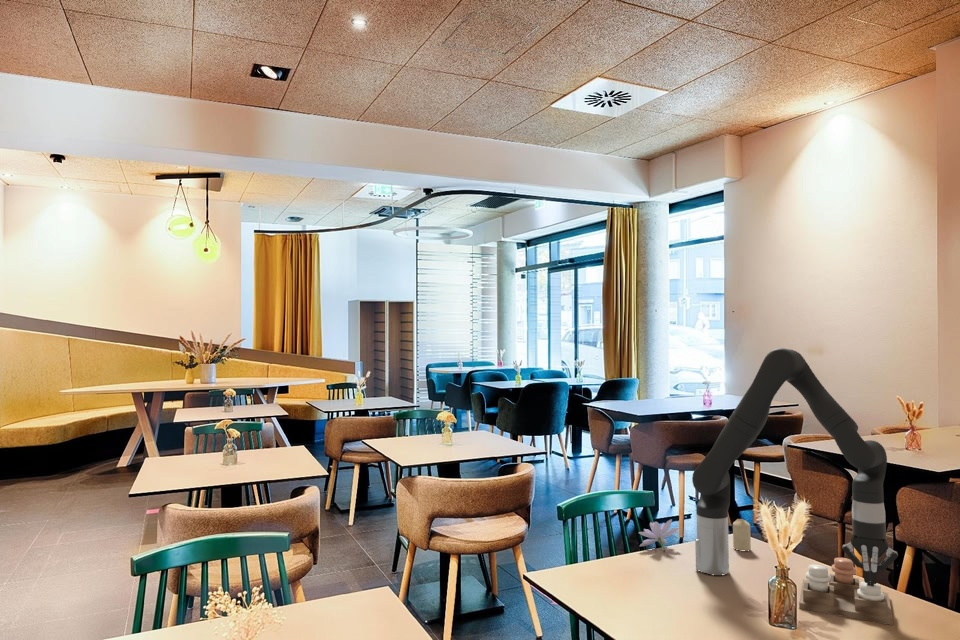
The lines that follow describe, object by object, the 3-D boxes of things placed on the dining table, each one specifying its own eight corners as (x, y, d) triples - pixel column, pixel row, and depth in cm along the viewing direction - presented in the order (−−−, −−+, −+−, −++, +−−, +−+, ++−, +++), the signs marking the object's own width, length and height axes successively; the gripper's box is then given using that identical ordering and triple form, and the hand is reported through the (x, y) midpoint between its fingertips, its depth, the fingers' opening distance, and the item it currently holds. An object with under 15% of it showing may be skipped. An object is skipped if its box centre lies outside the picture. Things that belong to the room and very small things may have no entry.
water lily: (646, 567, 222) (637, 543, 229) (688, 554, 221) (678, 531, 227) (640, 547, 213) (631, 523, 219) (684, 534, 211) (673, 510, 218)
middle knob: (831, 583, 178) (831, 561, 178) (832, 576, 183) (831, 555, 183) (856, 587, 175) (856, 565, 175) (856, 579, 180) (855, 558, 180)
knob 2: (857, 609, 166) (857, 586, 166) (857, 600, 171) (856, 579, 172) (885, 614, 163) (884, 590, 163) (883, 605, 168) (883, 583, 169)
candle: (752, 552, 216) (751, 522, 216) (735, 551, 217) (734, 521, 217) (748, 547, 221) (748, 518, 222) (732, 546, 222) (731, 517, 223)
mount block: (799, 608, 171) (798, 591, 171) (803, 584, 188) (802, 568, 188) (892, 625, 161) (892, 606, 161) (888, 598, 177) (887, 581, 177)
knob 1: (805, 590, 172) (805, 569, 172) (806, 583, 177) (806, 562, 178) (831, 595, 169) (830, 572, 169) (831, 587, 175) (830, 565, 175)
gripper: (839, 518, 168) (841, 585, 168) (899, 524, 162) (901, 594, 161) (839, 511, 175) (841, 576, 174) (897, 517, 168) (899, 584, 168)
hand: (870, 584), depth 168 cm, fingers closed
